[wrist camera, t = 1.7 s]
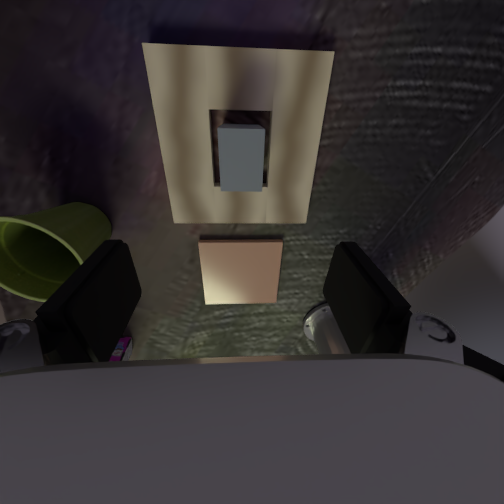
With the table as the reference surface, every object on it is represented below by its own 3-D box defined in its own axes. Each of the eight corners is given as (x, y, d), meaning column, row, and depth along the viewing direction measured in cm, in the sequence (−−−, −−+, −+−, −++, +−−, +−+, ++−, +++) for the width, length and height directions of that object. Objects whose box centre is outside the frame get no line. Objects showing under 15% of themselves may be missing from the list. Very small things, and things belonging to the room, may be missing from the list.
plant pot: (55, 167, 30) (-28, 193, 21) (140, 217, 35) (102, 257, 25) (34, 229, 35) (-42, 274, 25) (111, 266, 39) (70, 316, 30)
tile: (281, 239, 38) (282, 242, 37) (275, 299, 46) (276, 302, 45) (199, 239, 37) (198, 242, 36) (206, 300, 45) (205, 304, 44)
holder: (328, 55, 25) (334, 51, 24) (302, 217, 36) (305, 223, 34) (148, 47, 24) (141, 42, 23) (177, 217, 35) (174, 223, 33)
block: (258, 124, 29) (265, 129, 21) (256, 172, 32) (262, 191, 24) (223, 123, 28) (217, 128, 21) (225, 172, 32) (220, 191, 24)
